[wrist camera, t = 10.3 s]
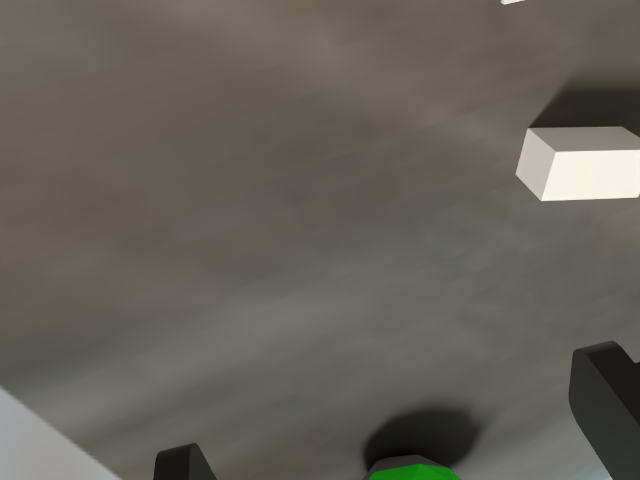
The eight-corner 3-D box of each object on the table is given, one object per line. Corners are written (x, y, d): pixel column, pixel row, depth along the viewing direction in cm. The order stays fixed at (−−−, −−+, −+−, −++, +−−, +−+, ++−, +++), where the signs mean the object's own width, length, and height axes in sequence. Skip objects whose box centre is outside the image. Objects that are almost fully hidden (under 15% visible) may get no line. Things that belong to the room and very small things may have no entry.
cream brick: (514, 173, 39) (541, 200, 36) (527, 127, 37) (555, 151, 34) (604, 170, 40) (637, 197, 37) (620, 125, 38) (657, 149, 35)
